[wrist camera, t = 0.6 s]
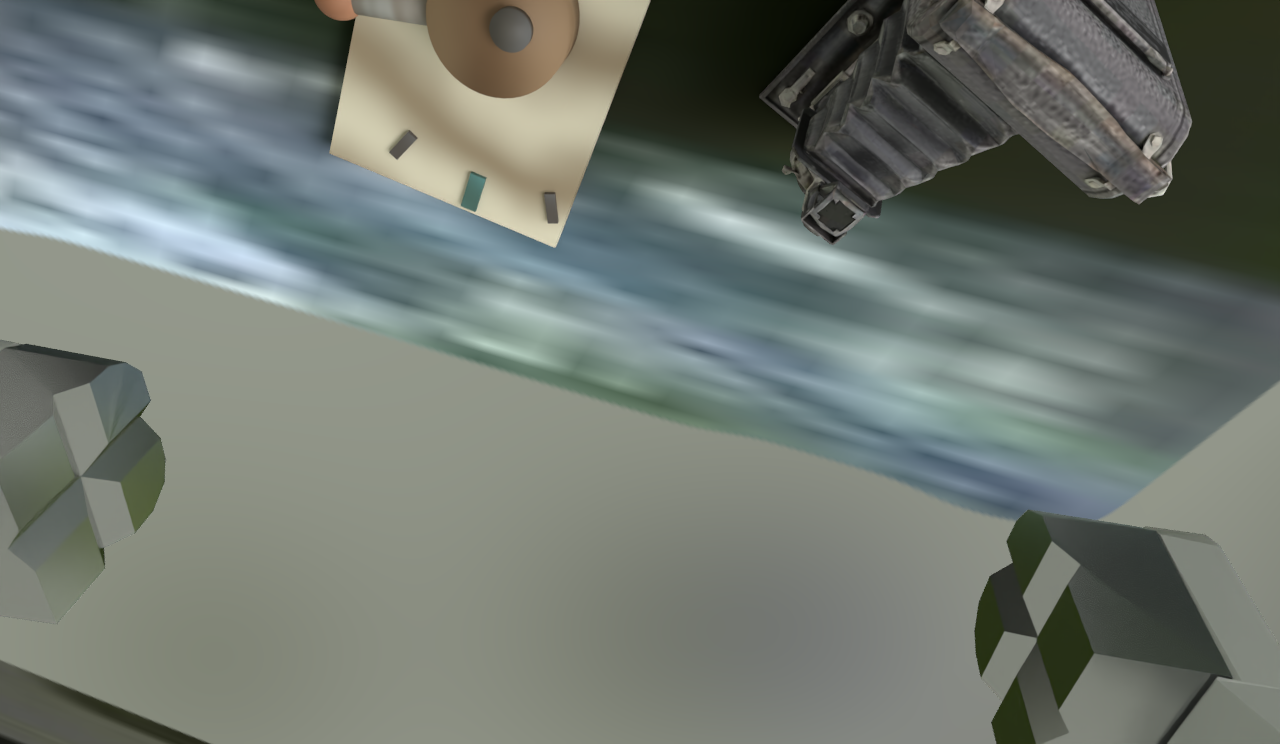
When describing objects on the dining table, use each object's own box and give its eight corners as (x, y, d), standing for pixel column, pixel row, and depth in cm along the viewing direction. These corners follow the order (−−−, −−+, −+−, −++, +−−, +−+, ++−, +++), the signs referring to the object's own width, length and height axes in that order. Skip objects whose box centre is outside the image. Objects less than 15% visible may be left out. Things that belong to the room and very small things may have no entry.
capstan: (585, -53, 43) (570, -40, 40) (574, 91, 47) (560, 112, 44) (321, -93, 43) (287, -84, 40) (332, 52, 47) (303, 70, 44)
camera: (754, 45, 49) (661, 267, 36) (1014, -232, 37) (1020, -55, 24) (890, 168, 52) (852, 415, 39) (1171, -53, 40) (1253, 193, 27)
